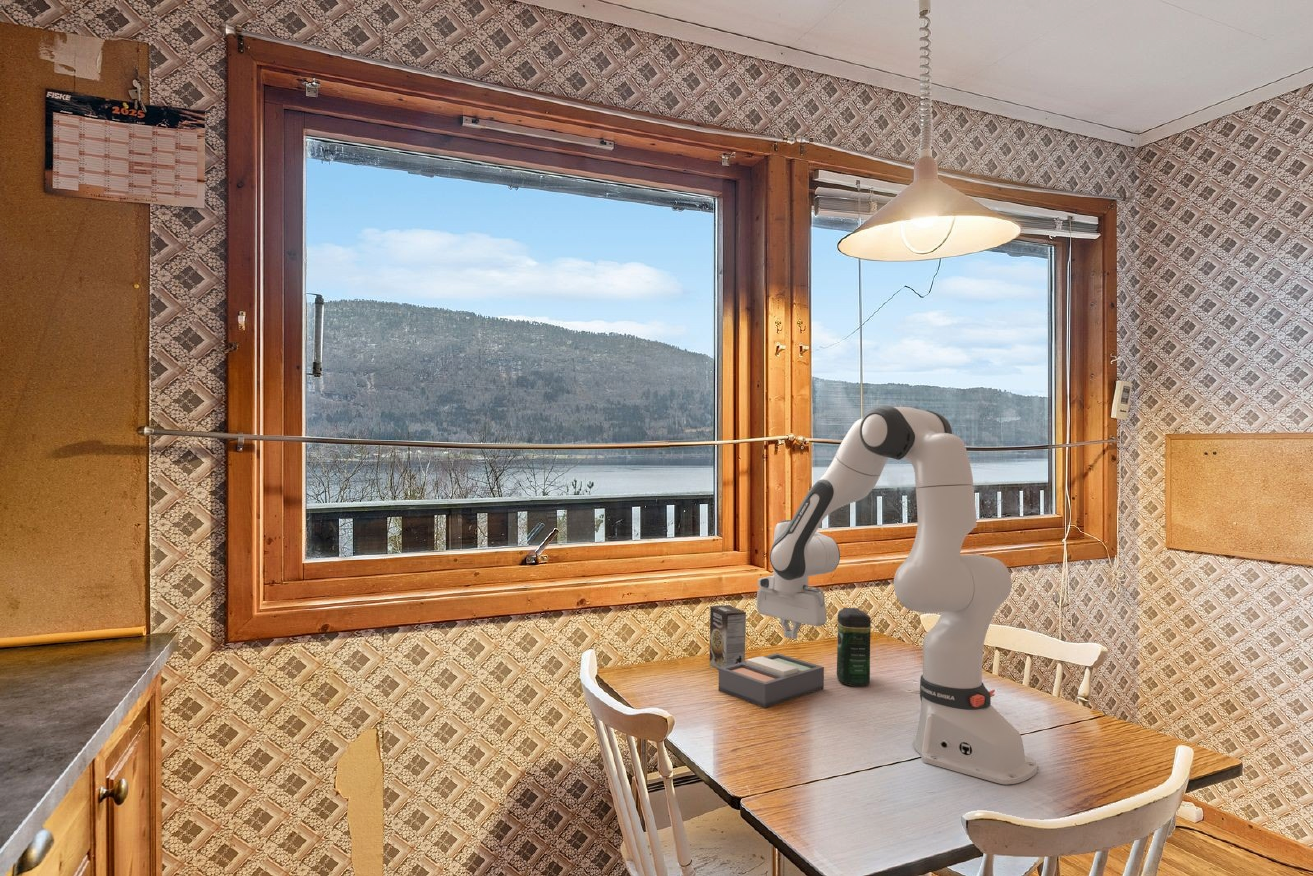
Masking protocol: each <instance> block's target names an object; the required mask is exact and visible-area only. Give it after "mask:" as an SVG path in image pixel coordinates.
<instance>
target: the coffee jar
mask: <svg viewBox="0 0 1313 876" xmlns="http://www.w3.org/2000/svg"><path fill="white" fill-rule="evenodd" d="M871 622H872V621H871V616H870V615H869V614H867V613H866V612H864V611H863V610H861V609H859V608H857V607H856V608H855V607H843V608H842V609H840V610H839V611H838V613H837V643H836V644H837V646H836V647H837V648H836V649H837V650H836V651H837V652H836V676H837V679H838V681H840V682H841V684H844V685H848V686H852V687H862V686H868V685H869V684H870V682H871V634H872V633H871V629H872V623H871Z"/></svg>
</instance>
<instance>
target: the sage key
mask: <svg viewBox="0 0 1313 876" xmlns="http://www.w3.org/2000/svg"><path fill="white" fill-rule="evenodd" d="M772 660H775V661H778V662H781V663H784V664H788V665H791V666H794V667H797V668H798V670H800V671H804V670H808V669H811V668H809V667H806V666H802V665H799V664H796V663H793V662H789V661H786V660H783V659H780V658H776V659H772Z"/></svg>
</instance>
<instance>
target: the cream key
mask: <svg viewBox="0 0 1313 876" xmlns="http://www.w3.org/2000/svg"><path fill="white" fill-rule="evenodd" d="M746 661H747V663H746V664H748V665H751V666H754V667H757V668H760V669H763V670H766V671H769V672H772V673H775V674H778V675H781V676H787V675H791V674H794V673H797V672H798V668H797V667H794V666H791V665H788V664H784V663H781V662H778V661H775V660H771V659H768V658H765V657H764V656H762V655H760V656H755V657H752V658H748V659H746Z"/></svg>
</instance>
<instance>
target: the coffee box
mask: <svg viewBox="0 0 1313 876" xmlns="http://www.w3.org/2000/svg"><path fill="white" fill-rule="evenodd" d="M709 613H710V614H709V665H711V666H712V667H714V668H715V669H717V670H719V668H722V667H726V666H729V665H733V664H737V663H741V662H745V661H746V660H745V659H746V628H747V627H746V626H747V623H746V621H747V612H746V611H745V610H742V609H739V608H737V607H734V606H732V605H729V604H728V605H722V604H721V605H712V606H710V612H709Z"/></svg>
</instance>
